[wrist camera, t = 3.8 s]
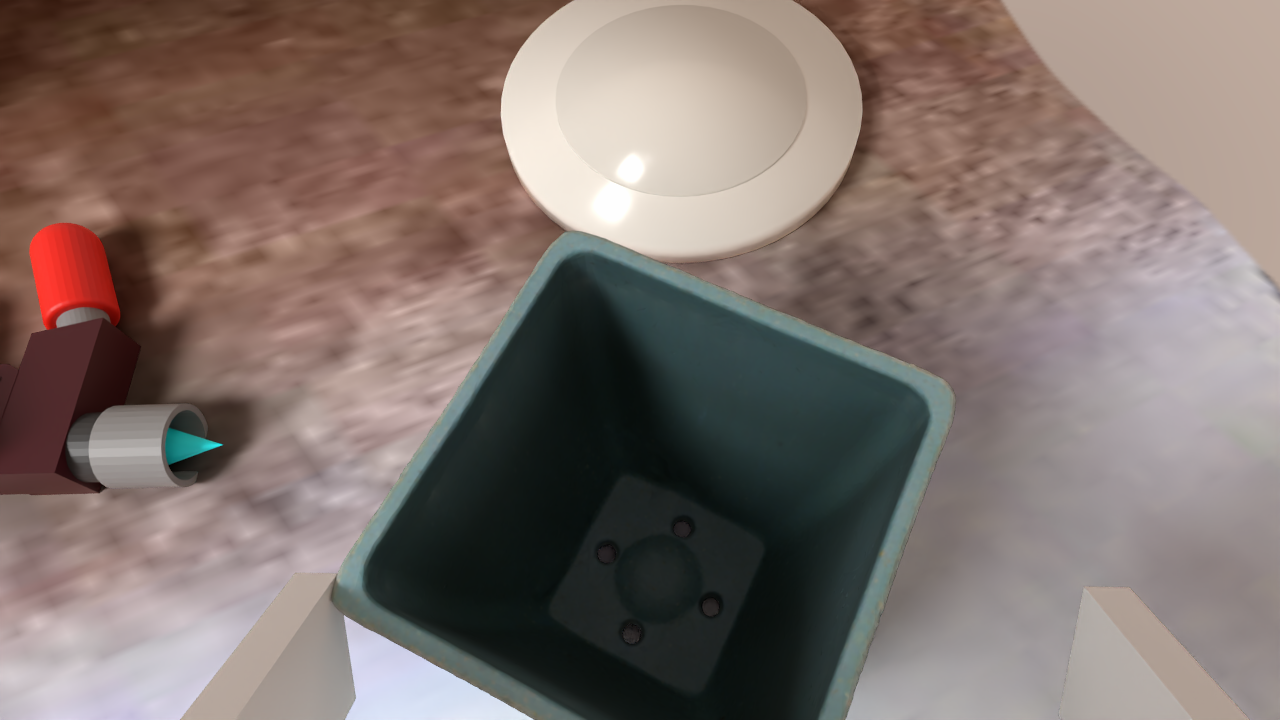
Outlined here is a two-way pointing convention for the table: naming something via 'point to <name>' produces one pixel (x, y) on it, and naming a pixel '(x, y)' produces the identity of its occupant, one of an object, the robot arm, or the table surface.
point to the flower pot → (653, 502)
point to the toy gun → (85, 388)
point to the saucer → (682, 122)
